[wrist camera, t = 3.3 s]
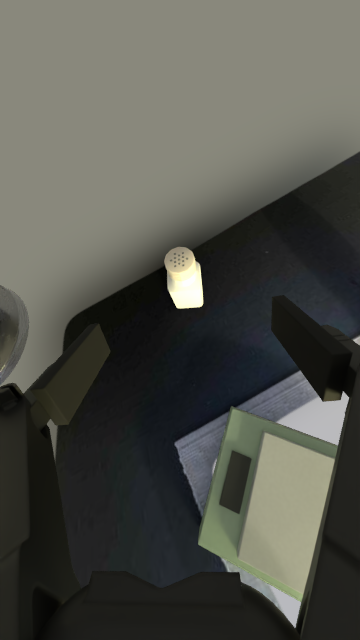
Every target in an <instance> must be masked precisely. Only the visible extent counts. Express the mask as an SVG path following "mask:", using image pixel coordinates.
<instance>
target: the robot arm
mask: <svg viewBox="0 0 360 640" xmlns="http://www.w3.org/2000/svg"><path fill="white" fill-rule="evenodd" d="M271 330H272V332H273V333H274V335H275V336H276V337H277V339H278V340H279V341H280V343H281V344H282V346H283V347H284V348H285V350H286V351H287V352H288V354H289V355H290V357H291V358H292V359H293V361H294V362H295V364H296V365H297V366H298V368H299V369H300V370H301V372H302V373H303V375H304V376H305V377H306V379H307V380H308V382H309V383H310V384H311V386H312V387H313V388H314V390H315V391H316V393H317V394H318V395H319V397H320V398H321V400H322V401H323V402H324V401H336V400H341V396H342V393H343V391H344V392H345V393H346V394H347V396H348V397H349V401H348V404H347V408H346V412H345V418H344V422H343V427H342V431H341V435H340V440H339V444H338V448H337V453H336V457H335V461H334V466H333V470H332V474H331V479H330V483H329V488H328V492H327V496H326V501H325V505H324V509H323V514H322V518H321V522H320V527H319V531H318V535H317V540H316V544H315V548H314V553H313V557H312V561H311V566H310V570H309V574H308V578H307V582H306V585H305V589H304V593H303V598H302V602H301V606H300V610H299V615H298V619H297V623H296V628H294V627H293V625H292V624H291V623H290V621H289V620H288V619H287V618H286V616H285V615H284V614H283V613H282V612H281V611H280V610H279V609H278V608H277V607H276V606H275V605H274V603H273V602H271V601H270V600H269V599H268V598H267V597H265V596H264V595H263V594H262V593H260V592H259V591H257V590H256V589H254V588H252V587H251V586H248V585H246V584H244V583H242V582H241V579H240V573H239V572H200V573H197V574H195V575H193V576H190V577H188V578H186V579H183V580H181V581H179V582H176V583H174V584H172V585H169V586H167V587H164V588H159V587H156V586H154V585H152V584H150V583H148V582H146V581H144V580H142V579H140V578H138V577H136V576H134V575H132V574H130V573H128V572H126V571H92V575H91V578H90V582H89V584H88V585H87V586H85V587H83V588H82V589H81V586H80V584H79V581H78V579H77V577H76V575H75V573H74V570H73V568H72V563H71V558H70V551H69V545H68V539H67V533H66V527H65V521H64V515H63V509H62V503H61V496H60V490H59V484H58V478H57V472H56V466H55V460H54V454H53V447H52V441H51V435H50V429H49V427H48V426H47V422H48V421H49V420H50V418H51V419H52V421H53V422H54V424H55V425H65V424H69V422H70V420H71V419H72V417H73V415H74V414H75V412H76V410H77V408H78V407H79V405H80V403H81V401H82V400H83V398H84V396H85V395H86V393H87V391H88V389H89V388H90V386H91V384H92V383H93V381H94V379H95V377H96V376H97V374H98V372H99V370H100V369H101V367H102V365H103V364H104V362H105V360H106V358H107V357H108V355H109V353H110V349H109V347H108V345H107V342H106V340H105V337H104V335H103V333H102V330H101V328H100V326H99V323H97V324H91V325H89V326H88V327H87V328H86V329H85V330H84V331H83V332H82V333H81V334H80V336H79V337H78V338H77V339H76V340H75V341H74V342H73V343H72V344H71V345H70V346H69V348H68V349H67V350H66V351H65V352H64V353H63V354H62V355H61V356H60V357H59V358H58V360H57V361H56V362H55V363H53V364H52V365H51V366H49V367H48V368H47V369H46V370H45V371H44V373H43V374H41V376H40V377H39V379H37V380H36V381H35V382H34V383H33V384H32V385H31V386H30V387H29V389H27V391H26V392H25V393H24V394H23V393H22V392H21V390H20V389H19V387H18V386H17V385H16V384H15V383H10V384H6V385H3V386H1V387H0V640H360V346H359V345H358V344H357V343H355V342H354V341H353V340H351V339H350V338H349V337H347V336H345V334H343V333H342V332H341V331H340V330H338V329H336V328H334V327H331V326H329V325H323V326H320V325H319V324H318V323H316V322H315V321H314V320H313V319H312V318H310V317H309V316H308V315H307V314H306V313H304V312H303V311H302V310H301V309H300V308H298V307H297V306H296V305H295V304H294V303H292V302H291V301H290V300H289V299H288V298H286V297H285V296H284V295H281V296H275V297H272V325H271ZM241 585H242V586H241Z"/></svg>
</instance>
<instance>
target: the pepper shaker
mask: <svg viewBox="0 0 360 640" xmlns="http://www.w3.org/2000/svg"><path fill="white" fill-rule="evenodd" d="M164 263H165V266H166V269H167V285H168V291H169V293H170V295H171V297H172V299H173V301H174V303H175V305H176V307H177V308H193V307H200V306H202V305H203V292H202V280H201V271H200V265H199V263H198V262H196V261H195V258H194V255H193V253H192V251H190V250H189V249H187V248H184V247H177V248H174V249H171V250H170V251H169V252H168V253H167V255H166V257H165V260H164Z"/></svg>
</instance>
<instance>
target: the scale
mask: <svg viewBox="0 0 360 640" xmlns="http://www.w3.org/2000/svg"><path fill="white" fill-rule="evenodd" d="M337 448H338V446H337V445H335V444H332V443H329V442H327V441H324V440H321V439H319V438H316V437H313V436H310V435H308V434H305V433H302V432H300V431H297V430H293V429H292V428H289V427H286V426H283V425H281V424H278V423H275V422H273V421H270V420H267V419H265V418H262V417H259V416H257V415H254V414H251V413H248V412H246V411H243V410H240V409H238V408H235V407H232V406H231V408H230V411H229V415H228V419H227V423H226V427H225V431H224V435H223V439H222V443H221V446H220V450H219V454H218V458H217V462H216V466H215V470H214V474H213V478H212V481H211V485H210V489H209V493H208V497H207V501H206V505H205V509H204V512H203V516H202V520H201V524H200V528H199V538H198V545H200V546H202V547H204V548H205V549H207V550H209V551H211V552H213V553H214V554H216V555H218V556H220V557H222V558H223V559H225V560H227V561H229V562H230V563H232V564H234V565H236V566H238V567H239V568H241V569H243V570H245V571H247V572H248V573H250V574H252V575H254V576H255V577H257V578H259V579H261V580H263V581H264V582H266V583H268V584H270V585H272V586H274V587H275V588H277V589H279V590H281V591H282V592H284V593H286V594H288V595H290V596H291V597H293V598H295V599H297V600H298V601H300V602H302V598H303V593H304V589H305V585H306V582H307V578H308V574H309V570H310V566H311V561H312V557H313V553H314V548H315V544H316V540H317V535H318V531H319V527H320V522H321V518H322V514H323V509H324V505H325V501H326V496H327V492H328V488H329V483H330V479H331V474H332V470H333V466H334V461H335V457H336V453H337Z"/></svg>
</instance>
